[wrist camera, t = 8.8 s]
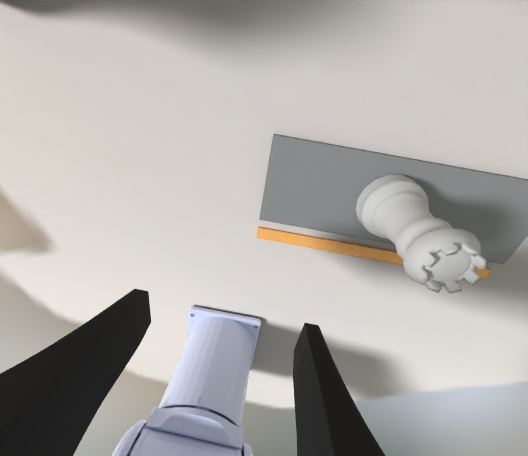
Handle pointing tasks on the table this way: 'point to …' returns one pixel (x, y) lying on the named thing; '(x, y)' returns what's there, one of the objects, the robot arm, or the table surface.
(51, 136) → the table surface
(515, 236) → the mat
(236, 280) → the table surface
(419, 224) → the rook chess piece
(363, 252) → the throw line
